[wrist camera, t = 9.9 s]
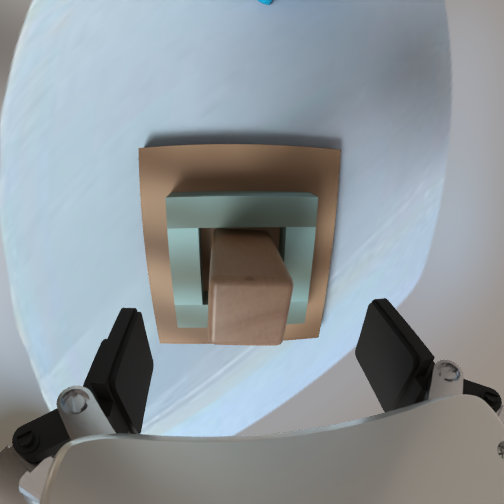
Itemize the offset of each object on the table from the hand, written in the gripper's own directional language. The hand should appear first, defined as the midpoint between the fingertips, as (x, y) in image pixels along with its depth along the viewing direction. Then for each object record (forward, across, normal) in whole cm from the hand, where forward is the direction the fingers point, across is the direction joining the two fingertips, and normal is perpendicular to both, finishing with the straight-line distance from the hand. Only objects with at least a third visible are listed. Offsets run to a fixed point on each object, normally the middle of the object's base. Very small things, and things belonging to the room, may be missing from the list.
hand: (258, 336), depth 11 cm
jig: (+12, 0, +1) cm, 12 cm away
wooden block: (+11, 0, +1) cm, 11 cm away
